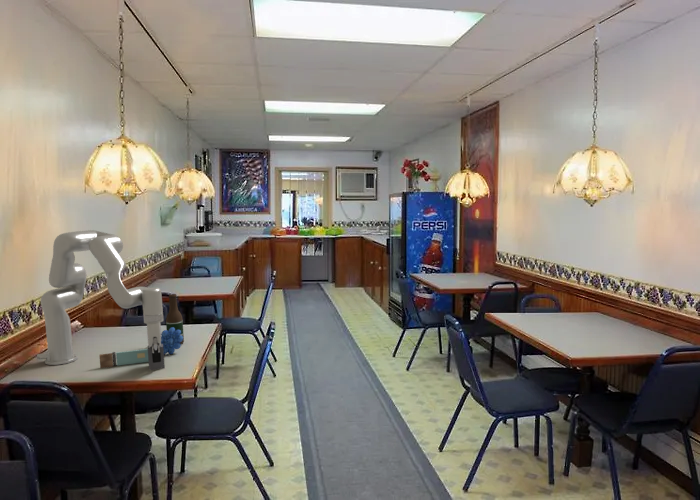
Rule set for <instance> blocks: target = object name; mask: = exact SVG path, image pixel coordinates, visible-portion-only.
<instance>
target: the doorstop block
mask: <svg viewBox="0 0 700 500" xmlns="http://www.w3.org/2000/svg"><path fill="white" fill-rule="evenodd" d="M147 349H148V361H149V362H148V370H149V371H155V370H160V369H161V370H162V369H165V367H166V365H165V354H164V350H163V344H161V346H159V349H160V353H161V362H156V363H153V359H152V353H153V352H152V347H150V348H149V347H148V346H147Z"/></svg>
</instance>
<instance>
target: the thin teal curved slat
mask: <svg viewBox="0 0 700 500" xmlns="http://www.w3.org/2000/svg"><path fill="white" fill-rule="evenodd" d="M115 354H116V367H117V366H123V365H124V366H125V365H132V364H140V363H141V364H142V363H149V361H148V348H143V349H135V350H126V351H117V352H115Z"/></svg>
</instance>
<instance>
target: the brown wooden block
mask: <svg viewBox="0 0 700 500" xmlns="http://www.w3.org/2000/svg"><path fill="white" fill-rule="evenodd" d="M99 367H100V369H103V368H113V367H117V357H116V352H115V351H113V352H111V353H102V354H99Z"/></svg>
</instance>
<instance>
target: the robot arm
mask: <svg viewBox="0 0 700 500" xmlns="http://www.w3.org/2000/svg"><path fill="white" fill-rule="evenodd" d="M52 248H53V249H52V259H51V263H50V264H51V265H50V268H49V274H48V282H49V285H50V286H51V287H53V288H54V289H50V290H47V291H46V292H44V293H43V294H42V295H41V297H40V305H41V306H40V307H41V309H42V311H43V312H42V313H43V315H44V322H45V323H44V325H45V334H46V343H47V344H46V346H47V352H45V353H38V354H36V358H37V360H38V359H39V360H43V359H45V360H44V363H45V364H46V365H49V366H57V365H58V366H59V365H65V364H69V363H73V362H75V361H76V360H78V355H77V354H74V349H73V338H72V328H71V325H72V324H71V318H70V316H69V314H68V313H67V311H66V310H68V309H71V308H74V307H77V306H79V305H80V303H82V300H83V297H84V292H85V287H86V283H87V271H86V268H85V267H84V266H83V265H82V264H80V263H77V262H76V255H75V253H78V252H86V251H90V252H91V255H93V257H94V258H95V260H96V261H97V262H98V264H99V265H100V267H101V268H102V270H103V272H105V274H106V287H107V290H108V293H109V296H111V297H112V299H113V301H114V302H115V303H116V304H117V305H118V307H120V308H121V309H131V308H134V307H137V306H142V314H143V324H146V333H147V344H148V345H147V348H148V347H149V348H150V347H152V352H153V353H152V359H153V363H156V362H161V353H160V349H159V346H161V336H162V335H161V334H162V323H163V322H164V320H165V319H164V312H163V311H164V310H163V309H164V306H163V298H162V290H161V288H160V287H146V286H136V287H131V288H128V289H127V288H126V286H125V284H123V282H122V280H121V279H122V278H121V273H122V271H124V269H125V268H126V266H127V264H126V261H125V260H124V258H123V257H122V256H121V255H120V253H121V252H122V251H123V248H124V244H123V241H122V239H121V238H120V237H119V236H118V235H115V234H112V233H108V232H103V231H98V230H94V229H93V230H91V229H90V230H89V229H88V230H80V231H79V230H78V231H69V232H64V233H61V234H59V235H57V236H56V237H55V239H54V240H53V247H52ZM75 262H76V263H75Z"/></svg>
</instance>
